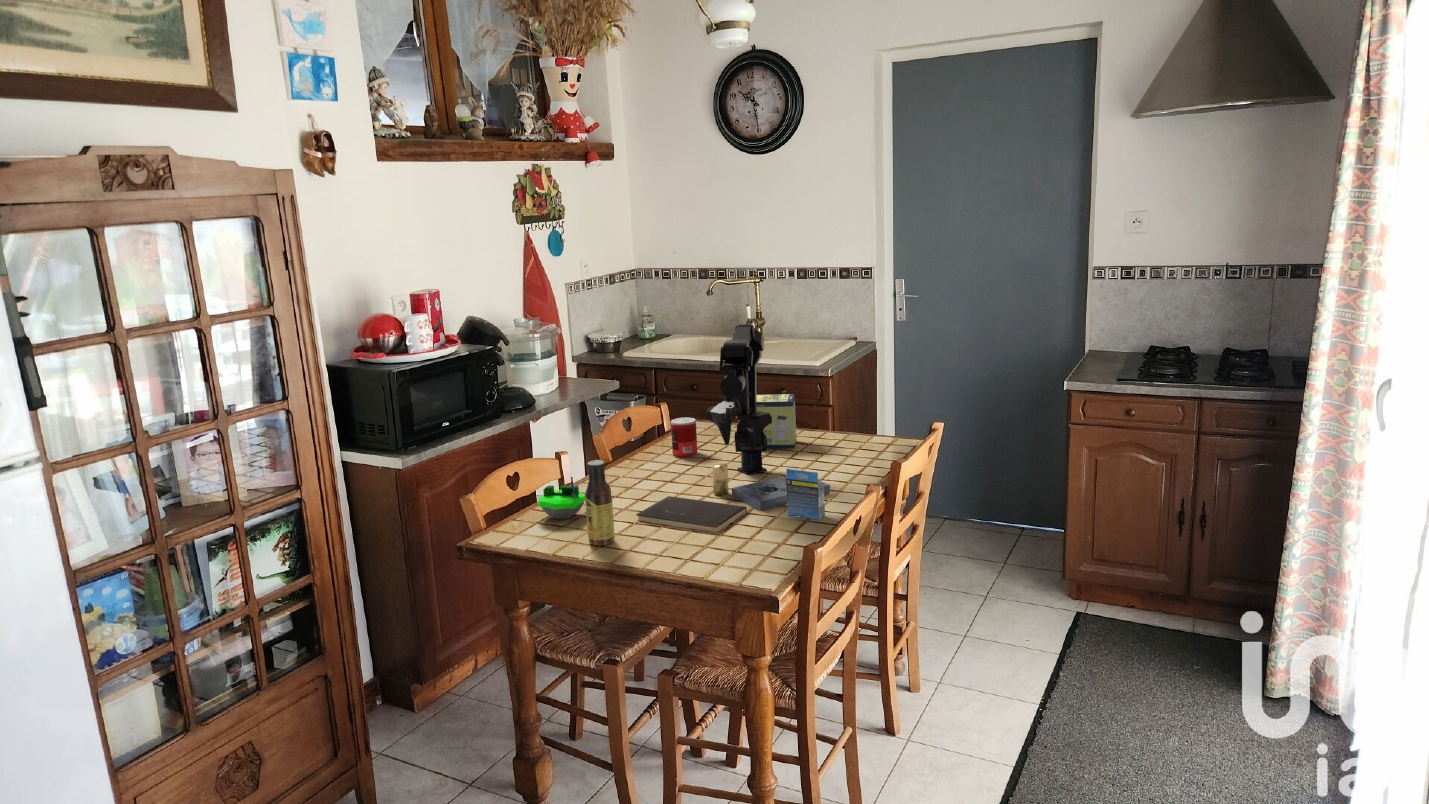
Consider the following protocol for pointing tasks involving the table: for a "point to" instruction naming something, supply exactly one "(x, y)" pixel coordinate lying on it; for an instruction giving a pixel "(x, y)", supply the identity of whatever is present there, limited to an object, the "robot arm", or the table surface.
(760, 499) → the jig
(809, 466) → the table surface
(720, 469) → the cylinder
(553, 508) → the green floating island model
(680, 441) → the canned food
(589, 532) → the sauce bottle
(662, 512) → the hardcover book
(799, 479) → the label tape box
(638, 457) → the table surface
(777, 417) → the protein box
